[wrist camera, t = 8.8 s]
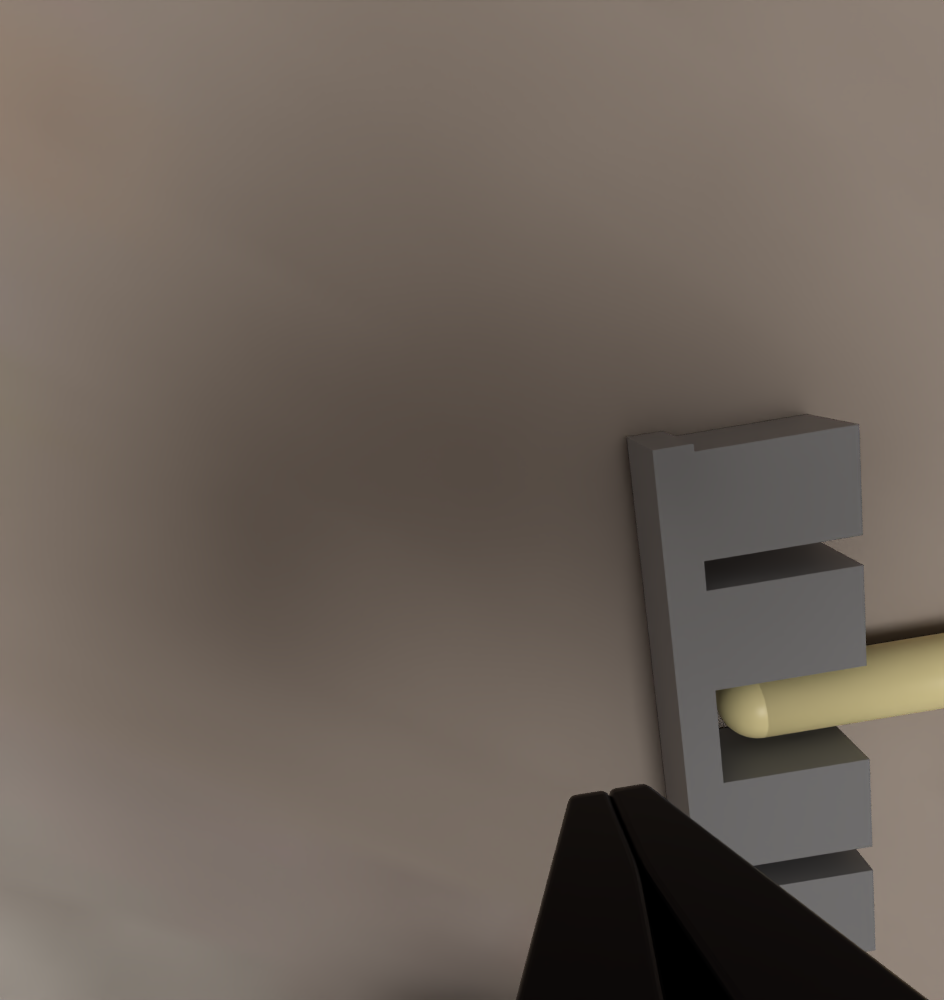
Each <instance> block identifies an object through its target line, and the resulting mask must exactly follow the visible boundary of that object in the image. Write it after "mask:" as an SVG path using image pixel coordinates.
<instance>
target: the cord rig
mask: <svg viewBox="0 0 944 1000" xmlns="http://www.w3.org/2000/svg"><path fill="white" fill-rule="evenodd" d="M627 444H628V453H629V462H630V471H631V480H632V489H633V498H634V507H635V516H636V525H637V534H638V543H639V552H640V561H641V570H642V579H643V588H644V597H645V606H646V615H647V624H648V633H649V642H650V651H651V660H652V669H653V678H654V687H655V696H656V705H657V714H658V723H659V732H660V741H661V750H662V759H663V768H664V777H665V786H666V795H667V800H668V801H669V802H671V803H672V804H673V805H674V806H676V807H677V808H678V809H680V810H681V811H682V812H684V813H685V814H686V815H688V816H689V817H690V818H691V819H693V820H694V821H695V822H697V823H698V824H699V825H701V826H702V827H703V828H705V829H706V830H707V831H708V832H710V833H711V834H712V835H714V836H715V837H716V838H718V839H719V840H720V841H722V842H723V843H724V844H725V845H727V846H728V847H729V848H731V849H732V850H733V851H735V852H736V853H737V854H738V855H740V856H741V857H742V858H744V859H745V860H746V861H748V862H749V863H750V864H752V865H753V866H754V867H755V868H757V869H758V870H759V871H761V872H762V873H763V874H765V875H766V876H767V877H769V878H770V879H771V880H772V881H774V882H775V883H776V884H778V885H779V886H780V887H782V888H783V889H784V890H786V891H787V892H788V893H789V894H791V895H792V896H793V897H795V898H796V899H797V900H799V901H800V902H801V903H803V904H804V905H805V906H806V907H808V908H809V909H810V910H812V911H813V912H814V913H816V914H817V915H818V916H819V917H821V918H822V919H823V920H825V921H826V922H827V923H829V924H830V925H831V926H833V927H834V928H835V929H836V930H838V931H839V932H840V933H842V934H843V935H844V936H846V937H847V938H848V939H850V940H851V941H852V942H853V943H855V944H856V945H857V946H859V947H860V948H861V949H863V950H864V951H865V952H867V951H873V950H875V920H874V888H873V870H872V868H871V867H870V866H869V865H868V863H867V862H866V861H865V860H864V858H863V857H862V856H861V855H860V853H859V852H858V851H857V850H856V849H859V848H865V847H871V846H872V823H871V790H870V759H869V758H868V757H867V756H866V755H865V754H864V753H863V752H862V751H861V750H860V749H859V748H858V747H857V746H856V745H855V744H854V743H853V742H852V741H851V740H850V739H849V738H848V737H847V736H846V735H845V734H844V733H843V732H842V731H841V730H840V729H839V728H838V727H836V726H839V725H845V724H851V723H857V722H863V721H869V720H875V719H881V718H887V717H894V716H900V715H906V714H912V713H918V712H924V711H930V710H936V709H942V708H944V633H940V634H934V635H928V636H921V637H915V638H909V639H903V640H897V641H891V642H885V643H879V644H873V645H867V646H866V628H865V595H864V565H862V564H860V563H859V562H857V561H855V560H853V559H851V558H849V557H847V556H845V555H844V554H842V553H840V552H838V551H836V550H834V549H832V548H830V547H829V546H827V545H825V544H823V543H821V542H824V541H830V540H836V539H842V538H848V537H854V536H860V535H863V530H862V498H861V465H860V433H859V424H855V423H850V422H845V421H840V420H835V419H830V418H824V417H819V416H814V415H809V414H806V415H800V416H794V417H788V418H782V419H776V420H770V421H764V422H758V423H752V424H746V425H740V426H734V427H728V428H722V429H716V430H710V431H704V432H698V433H692V434H686V435H680V436H674V435H671V434H669V433H666V432H664V431H660V432H654V433H648V434H642V435H636V436H630V437H627ZM715 691H716V692H715ZM717 710H718V713H719V715H720V717H721V719H722V720H723V721H724V723H725V724H726V725H727V726H728V728H722V729H719V726H718V714H717Z"/></svg>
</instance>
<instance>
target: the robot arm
mask: <svg viewBox="0 0 944 1000" xmlns="http://www.w3.org/2000/svg"><path fill="white" fill-rule="evenodd" d="M516 1000H928V999H927V998H925V997H924V996H923V995H921V994H920V993H919V992H917V991H916V990H915V989H914V988H912V987H911V986H910V985H908V984H907V983H906V982H904V981H903V980H902V979H900V978H899V977H898V976H897V975H895V974H894V973H893V972H891V971H890V970H889V969H887V968H886V967H885V966H884V965H882V964H881V963H880V962H878V961H877V960H876V959H874V958H873V957H872V956H870V955H869V954H868V953H867V952H865V951H864V950H863V949H861V948H860V947H859V946H857V945H856V944H855V943H853V942H852V941H851V940H850V939H848V938H847V937H846V936H844V935H843V934H842V933H840V932H839V931H838V930H836V929H835V928H834V927H833V926H831V925H830V924H829V923H827V922H826V921H825V920H823V919H822V918H821V917H819V916H818V915H817V914H816V913H814V912H813V911H812V910H810V909H809V908H808V907H806V906H805V905H804V904H803V903H801V902H800V901H799V900H797V899H796V898H795V897H793V896H792V895H791V894H789V893H788V892H787V891H786V890H784V889H783V888H782V887H780V886H779V885H778V884H776V883H775V882H774V881H772V880H771V879H770V878H769V877H767V876H766V875H765V874H763V873H762V872H761V871H759V870H758V869H757V868H755V867H754V866H753V865H752V864H750V863H749V862H748V861H746V860H745V859H744V858H742V857H741V856H740V855H738V854H737V853H736V852H735V851H733V850H732V849H731V848H729V847H728V846H727V845H725V844H724V843H723V842H722V841H720V840H719V839H718V838H716V837H715V836H714V835H712V834H711V833H710V832H708V831H707V830H706V829H705V828H703V827H702V826H701V825H699V824H698V823H697V822H695V821H694V820H693V819H691V818H690V817H689V816H688V815H686V814H685V813H684V812H682V811H681V810H680V809H678V808H677V807H676V806H674V805H673V804H672V803H671V802H669V801H668V800H667V799H665V798H664V797H663V796H661V795H660V794H659V793H657V792H656V791H655V790H654V789H652V788H651V787H649V786H647V785H645V784H639V785H633V786H627V787H621V788H615V789H612V790H611V791H610V794H609V795H608V794H607V793H606V792H604V791H597V792H591V793H585V794H579V795H574V796H572V797H571V798H570V799H569V801H568V804H567V808H566V812H565V816H564V819H563V823H562V827H561V831H560V834H559V838H558V842H557V846H556V850H555V853H554V857H553V861H552V865H551V869H550V872H549V876H548V880H547V884H546V887H545V891H544V895H543V899H542V903H541V906H540V910H539V914H538V918H537V922H536V925H535V929H534V933H533V937H532V941H531V944H530V948H529V952H528V956H527V959H526V963H525V967H524V971H523V975H522V978H521V982H520V986H519V990H518V994H517V997H516Z"/></svg>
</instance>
